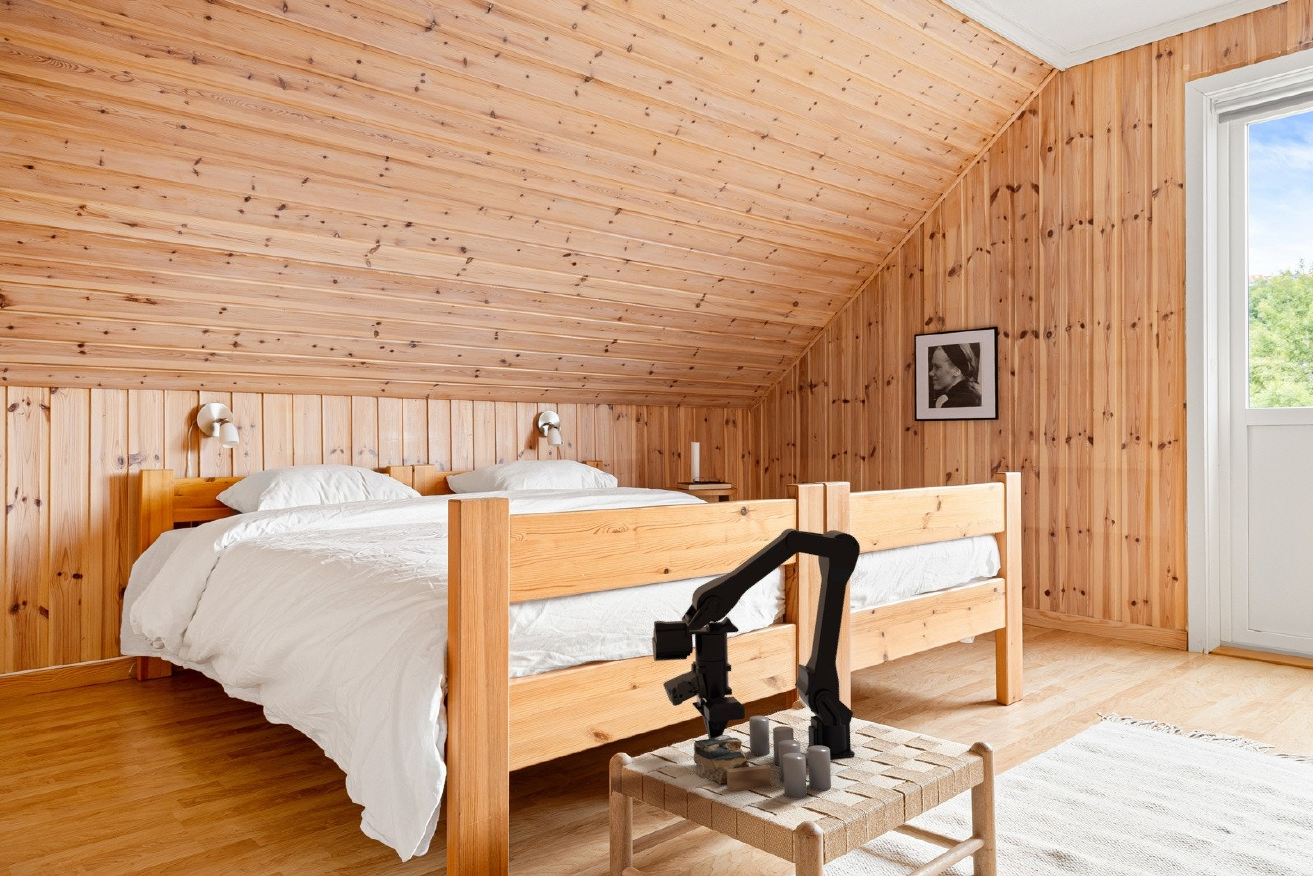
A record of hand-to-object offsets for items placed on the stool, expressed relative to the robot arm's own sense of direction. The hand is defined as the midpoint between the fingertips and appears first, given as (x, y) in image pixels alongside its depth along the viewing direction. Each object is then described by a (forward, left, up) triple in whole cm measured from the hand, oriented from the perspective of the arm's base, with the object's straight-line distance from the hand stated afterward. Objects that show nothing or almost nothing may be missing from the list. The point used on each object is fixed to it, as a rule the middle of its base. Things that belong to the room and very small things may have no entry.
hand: (714, 746), depth 158 cm
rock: (0, +6, -3) cm, 7 cm away
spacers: (-10, +8, -2) cm, 14 cm away
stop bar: (-2, +13, -3) cm, 14 cm away
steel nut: (-16, +7, -3) cm, 18 cm away
